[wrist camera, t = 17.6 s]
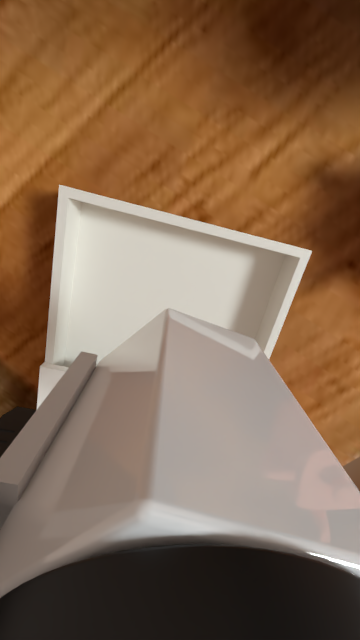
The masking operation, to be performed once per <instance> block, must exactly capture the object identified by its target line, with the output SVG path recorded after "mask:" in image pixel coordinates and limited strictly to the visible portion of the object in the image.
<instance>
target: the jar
mask: <svg viewBox="0 0 360 640" xmlns="http://www.w3.org/2000/svg"><path fill="white" fill-rule="evenodd" d="M0 640H360V492H359V490H358V489H357V487H356V486H355V485H354V483H353V481H352V480H351V479H350V477H349V476H348V474H347V473H346V471H345V470H344V468H343V467H342V465H341V464H340V463H339V461H338V460H337V458H336V457H335V455H334V454H333V452H332V451H331V449H330V448H329V447H328V445H327V444H326V442H325V441H324V439H323V438H322V436H321V435H320V433H319V432H318V431H317V429H316V428H315V426H314V425H313V423H312V422H311V420H310V419H309V417H308V416H307V414H306V413H305V412H304V410H303V409H302V407H301V406H300V404H299V403H298V401H297V400H296V398H295V397H294V396H293V394H292V393H291V391H290V390H289V388H288V387H287V385H286V384H285V382H284V381H283V380H282V378H281V377H280V375H279V374H278V372H277V371H276V369H275V368H274V366H273V365H272V364H271V362H270V361H269V359H268V358H267V356H266V355H265V353H264V352H263V350H262V349H261V348H260V346H259V345H258V343H257V342H256V340H255V339H253V338H251V337H248V336H245V335H242V334H240V333H237V332H234V331H231V330H229V329H226V328H223V327H220V326H217V325H215V324H212V323H209V322H206V321H204V320H201V319H198V318H195V317H193V316H190V315H187V314H184V313H182V312H179V311H176V310H173V309H170V308H167V309H165V310H163V311H162V312H161V313H160V314H158V315H157V316H156V317H155V318H153V319H152V320H151V321H150V322H148V323H147V324H146V325H145V326H143V327H142V328H141V329H140V330H138V331H137V332H136V333H135V334H133V335H132V336H131V337H129V338H128V339H127V340H126V341H124V342H123V343H122V344H121V345H119V346H118V347H117V348H116V349H114V350H113V351H112V352H110V353H109V354H108V355H107V356H105V357H104V358H103V359H102V360H100V361H99V362H98V364H97V366H96V367H95V369H94V371H93V372H92V374H91V376H90V378H89V379H88V381H87V383H86V385H85V386H84V388H83V390H82V391H81V393H80V395H79V397H78V398H77V400H76V402H75V403H74V405H73V407H72V409H71V410H70V412H69V414H68V416H67V417H66V419H65V421H64V422H63V424H62V426H61V428H60V429H59V431H58V433H57V435H56V436H55V438H54V440H53V441H52V443H51V445H50V447H49V448H48V450H47V452H46V454H45V455H44V457H43V459H42V460H41V462H40V464H39V466H38V467H37V469H36V471H35V473H34V474H33V476H32V478H31V479H30V481H29V483H28V485H27V486H26V488H25V490H24V492H23V493H22V495H21V497H20V498H19V500H18V502H17V503H16V504H15V505H14V507H13V508H12V510H11V512H10V513H9V515H8V517H7V518H6V520H5V522H4V524H3V525H2V527H1V529H0Z"/></svg>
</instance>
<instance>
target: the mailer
mask: <svg viewBox="0 0 360 640" xmlns="http://www.w3.org/2000/svg"><path fill="white" fill-rule="evenodd" d="M311 253H312V251H311V250H307V249H303V248H299V247H295V246H292V245H288V244H284V243H280V242H276V241H273V240H269V239H265V238H261V237H257V236H253V235H250V234H246V233H242V232H238V231H234V230H230V229H227V228H223V227H219V226H215V225H211V224H208V223H204V222H200V221H196V220H192V219H188V218H185V217H181V216H177V215H173V214H169V213H166V212H162V211H158V210H154V209H150V208H146V207H143V206H139V205H135V204H131V203H127V202H124V201H120V200H116V199H112V198H108V197H104V196H101V195H97V194H93V193H89V192H85V191H81V190H78V189H74V188H70V187H66V186H62V185H59V194H58V206H57V218H56V231H55V243H54V255H53V267H52V280H51V292H50V304H49V316H48V328H47V341H46V353H45V363H49V364H54V365H59V366H65V367H70V366H71V364H72V363H73V362H74V360H75V359H76V358H77V356H78V355H79V354H80V352H81V351H82V352H87V353H91V354H96V355H97V362H96V366H97V364H98V362H99V361H100V360H102V359H103V358H104V357H105V356H107V355H108V354H109V353H110V352H112V351H113V350H114V349H116V348H117V347H118V346H119V345H121V344H122V343H123V342H124V341H126V340H127V339H128V338H129V337H131V336H132V335H133V334H135V333H136V332H137V331H138V330H140V329H141V328H142V327H143V326H145V325H146V324H147V323H148V322H150V321H151V320H152V319H153V318H155V317H156V316H157V315H158V314H160V313H161V312H162V311H163V310H165V309H167V308H170V309H173V310H176V311H179V312H182V313H184V314H187V315H190V316H193V317H195V318H198V319H201V320H204V321H206V322H209V323H212V324H215V325H217V326H220V327H223V328H226V329H229V330H231V331H234V332H237V333H240V334H242V335H245V336H248V337H251V338H253V339H255V340H256V342H257V343H258V345H259V346H260V348H261V349H262V350H263V352H264V353H265V355H266V356H267V358H268V359H269V358H270V356H271V353H272V351H273V348H274V346H275V343H276V341H277V338H278V336H279V333H280V331H281V328H282V326H283V323H284V321H285V318H286V316H287V313H288V311H289V308H290V305H291V303H292V300H293V298H294V295H295V293H296V290H297V288H298V285H299V283H300V280H301V278H302V275H303V273H304V270H305V268H306V265H307V263H308V260H309V258H310V255H311Z"/></svg>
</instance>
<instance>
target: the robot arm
mask: <svg viewBox="0 0 360 640" xmlns="http://www.w3.org/2000/svg"><path fill="white" fill-rule="evenodd" d="M96 362H97V355H96V354H91V353H87V352H82V351H81V352H80V354H79V355H78V356H77V358H76V359H75V360H74V362H73V363H72V364H71V366H70V367H69V368H68V370H67V371H66V372H65V373H64V375H63V376H62V377H61V379H60V380H59V381H58V383H57V384H56V385H55V387H54V388H53V389H52V391H51V392H50V393H49V394H48V396H47V397H46V398H45V400H44V401H43V402H42V404H41V405H40V406H39V408H38V409H37V410H34V409H28V408H23V407H16V408H14V409H13V410H11V411H9V412H7V413H6V414H4V415H2V417H1V418H0V529H1V527H2V525H3V524H4V522H5V520H6V518H7V517H8V515H9V513H10V512H11V510H12V508H13V507H14V505H15V504H16V503H17V502H18V500H19V498H20V497H21V495H22V493H23V492H24V490H25V488H26V486H27V485H28V483H29V481H30V479H31V478H32V476H33V474H34V473H35V471H36V469H37V467H38V466H39V464H40V462H41V460H42V459H43V457H44V455H45V454H46V452H47V450H48V448H49V447H50V445H51V443H52V441H53V440H54V438H55V436H56V435H57V433H58V431H59V429H60V428H61V426H62V424H63V422H64V421H65V419H66V417H67V416H68V414H69V412H70V410H71V409H72V407H73V405H74V403H75V402H76V400H77V398H78V397H79V395H80V393H81V391H82V390H83V388H84V386H85V385H86V383H87V381H88V379H89V378H90V376H91V374H92V372H93V371H94V369H95V367H96Z"/></svg>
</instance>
